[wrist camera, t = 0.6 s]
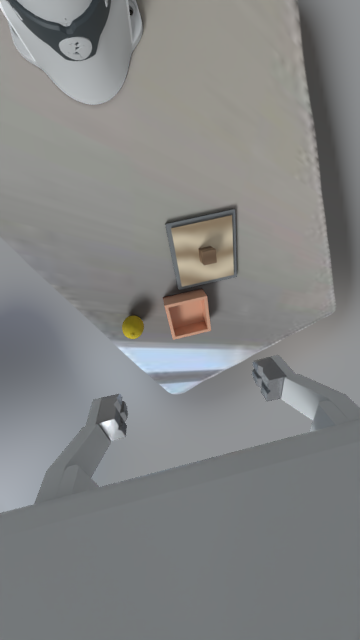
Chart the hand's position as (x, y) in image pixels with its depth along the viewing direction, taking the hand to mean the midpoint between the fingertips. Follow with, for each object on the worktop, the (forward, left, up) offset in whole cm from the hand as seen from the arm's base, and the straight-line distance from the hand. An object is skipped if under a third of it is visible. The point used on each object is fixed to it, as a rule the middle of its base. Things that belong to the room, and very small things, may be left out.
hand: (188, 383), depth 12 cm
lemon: (+17, -11, -41) cm, 46 cm away
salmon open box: (+18, +4, -41) cm, 45 cm away
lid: (+3, +11, -40) cm, 41 cm away
